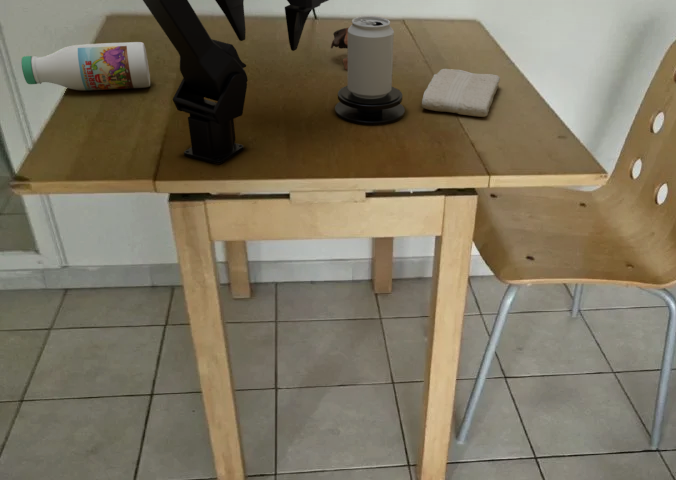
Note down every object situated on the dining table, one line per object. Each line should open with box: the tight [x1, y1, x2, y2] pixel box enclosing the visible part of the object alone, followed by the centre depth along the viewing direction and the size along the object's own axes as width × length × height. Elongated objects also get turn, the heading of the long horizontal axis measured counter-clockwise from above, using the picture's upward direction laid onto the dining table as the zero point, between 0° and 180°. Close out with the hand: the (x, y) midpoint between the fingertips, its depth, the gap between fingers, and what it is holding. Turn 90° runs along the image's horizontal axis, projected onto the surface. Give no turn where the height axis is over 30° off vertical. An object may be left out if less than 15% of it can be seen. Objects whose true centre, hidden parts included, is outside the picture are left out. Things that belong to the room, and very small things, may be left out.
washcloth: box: [421, 68, 501, 118], centre depth 129 cm, size 12×18×3 cm, turn 167°
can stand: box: [334, 85, 406, 126], centre depth 122 cm, size 12×12×3 cm
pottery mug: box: [330, 27, 349, 71], centre depth 143 cm, size 12×10×8 cm
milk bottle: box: [21, 41, 151, 91], centre depth 124 cm, size 8×8×20 cm
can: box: [347, 15, 395, 99], centre depth 117 cm, size 8×8×12 cm
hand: (267, 45), depth 109 cm, fingers open, 9 cm apart
